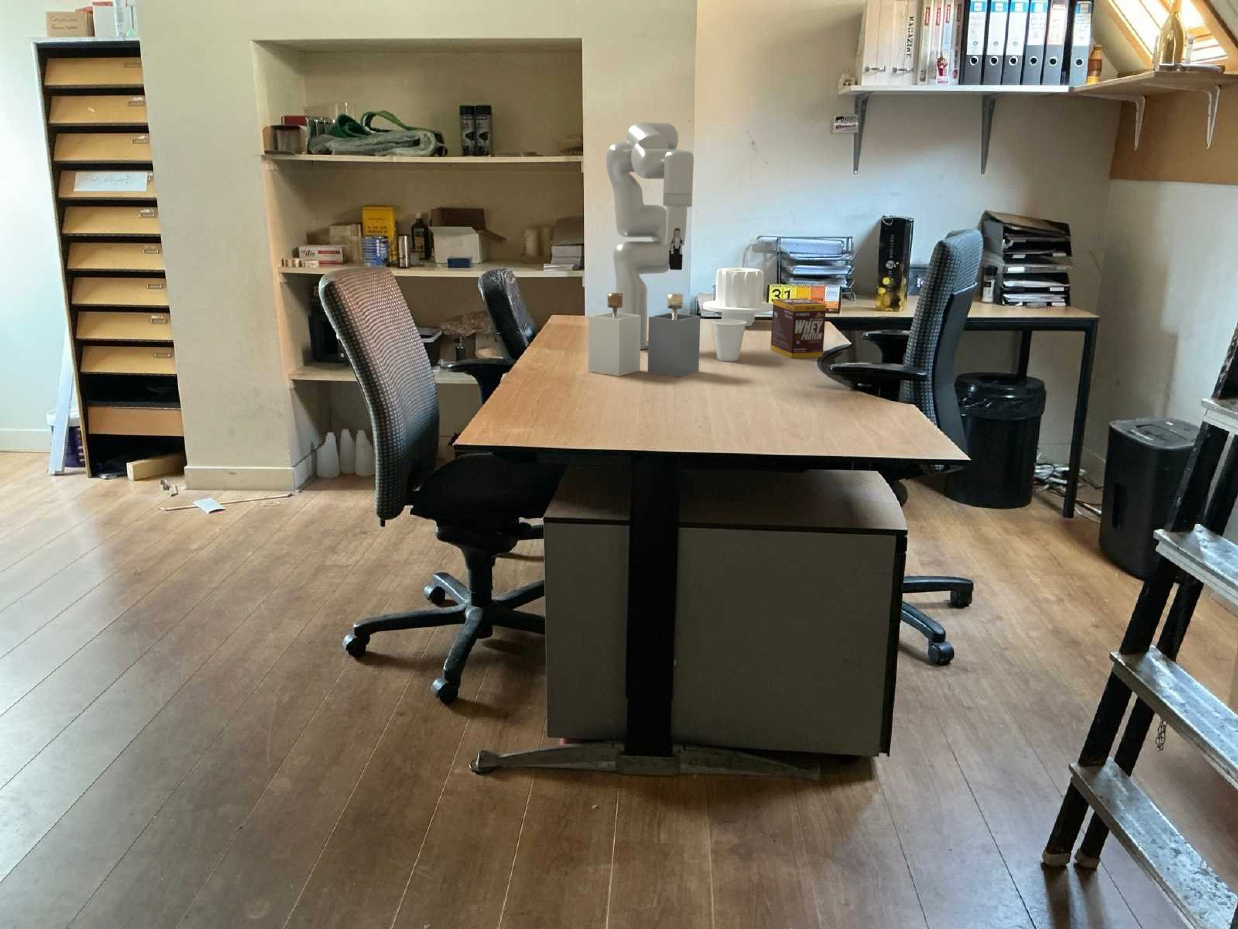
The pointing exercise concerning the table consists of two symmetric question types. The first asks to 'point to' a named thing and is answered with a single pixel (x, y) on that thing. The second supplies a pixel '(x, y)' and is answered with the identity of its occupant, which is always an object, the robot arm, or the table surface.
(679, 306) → the brass knobbed plunger
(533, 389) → the table surface
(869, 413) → the table surface
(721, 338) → the cup
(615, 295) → the bronze knobbed rod
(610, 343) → the white open box
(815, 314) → the supplement box
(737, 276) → the flanged gear
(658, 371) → the grey open box
